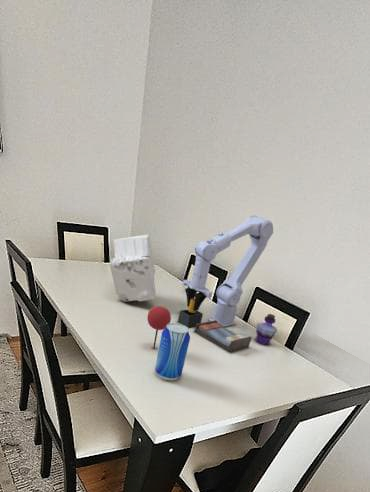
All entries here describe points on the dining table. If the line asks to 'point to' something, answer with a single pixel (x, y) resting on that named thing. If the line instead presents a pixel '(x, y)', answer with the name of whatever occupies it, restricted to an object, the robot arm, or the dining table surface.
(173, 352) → the beer can
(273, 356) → the dining table surface
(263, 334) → the potion bottle
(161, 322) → the lollipop
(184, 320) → the bin
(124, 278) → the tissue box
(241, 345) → the bed
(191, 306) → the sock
